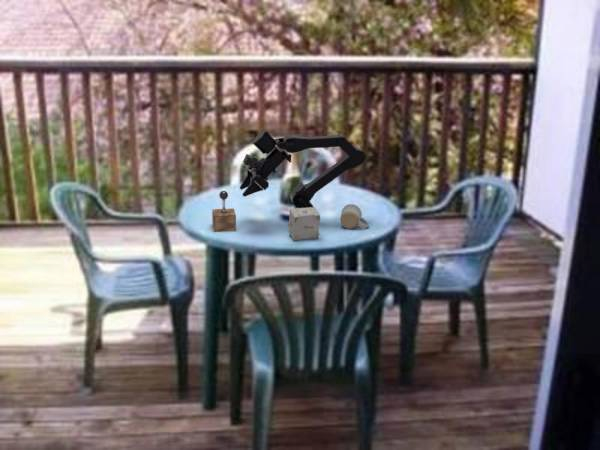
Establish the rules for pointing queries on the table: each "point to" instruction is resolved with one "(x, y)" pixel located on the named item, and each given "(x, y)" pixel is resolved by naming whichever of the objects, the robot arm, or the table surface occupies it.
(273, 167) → the robot arm
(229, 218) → the wooden box
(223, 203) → the black ball knob
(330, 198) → the table surface
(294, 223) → the beige cardboard box
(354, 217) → the ceramic mug
